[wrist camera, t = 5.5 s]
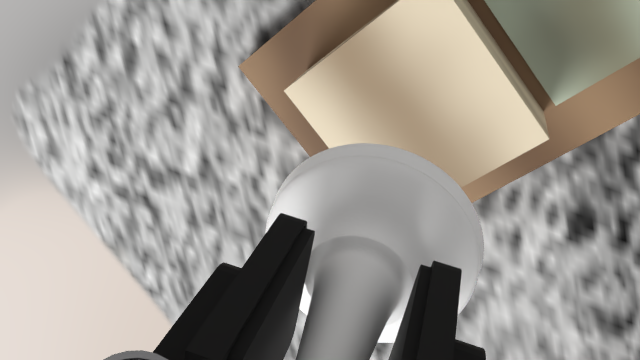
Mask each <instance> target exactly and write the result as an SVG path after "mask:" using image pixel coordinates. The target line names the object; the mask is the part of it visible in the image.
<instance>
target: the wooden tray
mask: <svg viewBox="0 0 640 360" xmlns="http://www.w3.org/2000/svg"><path fill="white" fill-rule="evenodd" d="M238 67H239V68H240V69H241V70H242V72H243V73H244V74H245V75H246V77H247V78H248V79H249V81H250V82H251V83H252V84H253V86H254V87H255V88H256V89H257V91H258V92H259V93H260V94H261V96H262V97H263V98H264V99H265V101H266V102H267V103H268V104H269V106H270V107H271V108H272V109H273V111H274V112H275V113H276V114H277V116H278V117H279V118H280V119H281V121H282V122H283V123H284V124H285V126H286V127H287V128H288V129H289V131H290V132H291V133H292V134H293V136H294V137H295V138H296V139H297V141H298V142H299V143H300V145H301V146H302V147H303V148H304V150H305V151H306V152H307V153H308V155H309V156H310V157H312V156H313V155H315V154H317V153H319V152H322V151H324V150H327V149H330V148H333V147H337V146H342V145H347V144H357V143H371V144H381V145H388V146H392V147H396V148H400V149H403V150H406V151H409V152H411V153H414V154H416V155H418V156H420V157H423V158H424V159H426V160H428V161H430V162H431V163H433V164H434V165H436V166H437V167H439V168H440V169H442V170H443V171H444V172H445V173H447V174H448V175H449V176H450V177H451V178H452V179H453V180H454V181H455V182H456V183H457V184H458V185H459V186H460V187H461V189H462V190H463V191H464V192H465V194H466V195H467V197H468V198H469V200H470V201H471V203H473V202H474V201H476V200H478V199H480V198H482V197H484V196H486V195H488V194H490V193H491V192H493V191H495V190H497V189H499V188H501V187H503V186H505V185H507V184H508V183H510V182H512V181H514V180H516V179H518V178H520V177H522V176H524V175H525V174H527V173H529V172H531V171H533V170H535V169H537V168H539V167H541V166H542V165H544V164H546V163H548V162H550V161H552V160H554V159H556V158H558V157H559V156H561V155H563V154H565V153H567V152H569V151H571V150H573V149H575V148H576V147H578V146H580V145H582V144H584V143H586V142H588V141H590V140H592V139H593V138H595V137H597V136H599V135H601V134H603V133H605V132H607V131H609V130H610V129H612V128H614V127H616V126H618V125H620V124H622V123H624V122H626V121H628V120H629V119H631V118H633V117H635V116H637V115H639V114H640V0H316V1H314V2H313V3H312V4H311V5H310V6H309V7H307V8H306V9H305V10H304V11H303V12H301V13H300V14H299V15H298V16H297V17H296V18H294V19H293V20H292V21H291V22H290V23H289V24H287V25H286V26H285V27H284V28H283V29H282V30H280V31H279V32H278V33H277V34H276V35H275V36H273V37H272V38H271V39H270V40H269V41H268V42H266V43H265V44H264V45H263V46H262V47H260V48H259V49H258V50H257V51H256V52H255V53H253V54H252V55H251V56H250V57H249V58H248V59H246V60H245V61H244V62H243V63H242V64H241V65H239V66H238Z"/></svg>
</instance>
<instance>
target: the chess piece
mask: <svg viewBox="0 0 640 360" xmlns="http://www.w3.org/2000/svg"><path fill="white" fill-rule="evenodd" d="M280 213H283V214H286V215H290V216H293V217H296V218H299V219H302V220H306V221H307V229H310V230H313V231H315V236H314V241H313V246H312V250H311V255H310V260H309V265H308V269H307V274H306V279H305V284H304V288H303V293H302V298H301V303H300V307H299V309H300V310H301V311H303V312H304V313H305V314H306V315H307V318H306V322H305V326H304V330H303V334H302V338H301V342H300V345H299V349H298V353H297V357H296V360H369V359H370V357H371V355H372V353H373V351H374V348H375V346H376V344H377V342H381V343H391V342H395V339H396V336H397V333H398V330H399V327H400V324H401V321H402V318H403V315H404V312H405V309H406V306H407V303H408V300H409V297H410V294H411V291H412V288H413V285H414V282H415V279H416V276H417V273H418V270H419V267H420V265H421V264H422V265H425V266H428V267H431V265H432V263H433V261H437V262H441V263H444V264H447V265H450V266H453V267H457V268H460V269H461V270H462V274H461V284H460V295H459V305H458V314H459V313H460V312H461V311H462V310H463V308H464V307H465V306H466V304H467V303H468V301H469V299H470V298H471V296H472V294H473V292H474V289H475V286H476V283H477V280H478V276H479V273H480V271H481V267H482V263H483V256H484V239H483V232H482V228H481V224H480V221H479V218H478V215H477V213H476V211H475V209H474V207H473V205H472V203H471V201H470V200H469V198H468V197H467V195H466V194H465V192H464V191H463V190H462V189H461V187H460V186H459V185H458V184H457V183H456V182H455V181H454V180H453V179H452V178H451V177H450V176H449V175H448V174H447V173H445V172H444V171H443V170H442V169H440V168H439V167H437V166H436V165H434V164H433V163H431V162H430V161H428V160H426V159H424V158H423V157H420V156H418V155H416V154H414V153H411V152H409V151H406V150H403V149H400V148H396V147H392V146H388V145H381V144H371V143H357V144H347V145H342V146H337V147H333V148H330V149H327V150H324V151H322V152H319V153H317V154H315V155H313V156H312V157H310V158H308V159H307V160H305V161H304V162H302V163H301V164H300V165H299V166H297V167H296V168H295V169H294V170H293V171H292V172H291V173H290V174H289V176H288V177H287V178H286V179H285V181H284V182H283V184H282V185H281V187H280V189H279V191H278V193H277V195H276V198H275V200H274V204H273V205H272V208H271V210H270V213H269V216H268V221H267V225H266V233H267V231H268V230H269V228H270V227H271V225H272V224H273V222H274V221H275V220H276V218H277V217H278V215H279V214H280Z"/></svg>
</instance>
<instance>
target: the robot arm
mask: <svg viewBox="0 0 640 360" xmlns="http://www.w3.org/2000/svg"><path fill="white" fill-rule="evenodd" d="M314 236H315V231H313V230H310V229H307V221H306V220H302V219H299V218H296V217H293V216H290V215H286V214H283V213H280V214H279V215H278V217H277V218H276V220H275V221H274V222H273V224H272V225H271V227H270V228H269V230H268V231H267V233H266V234H265V235H264V237H263V238H262V240H261V241H260V243H259V244H258V246H257V247H256V248H255V250H254V251H253V253H252V254H251V256H250V257H249V259H248V260H247V261H246V263H245V264H244V266H243V267H242V268H239V267H236V266H233V265H230V264H227V263H222V264H220V265H219V266H218V267H217V268H216V270H215V271H214V272H213V274H212V275H211V276H210V278H209V279H208V280H207V282H206V283H205V284H204V286H203V287H202V288H201V289H200V291H199V292H198V293H197V295H196V296H195V297H194V299H193V300H192V301H191V303H190V304H189V305H188V307H187V308H186V309H185V311H184V312H183V313H182V315H181V316H180V317H179V318H178V320H177V321H176V322H175V324H174V325H173V326H172V328H171V329H170V330H169V332H168V333H167V334H166V336H165V337H164V339H163V340H162V341H161V342H160V344H159V345H158V346H157V347H156V349H155V350H154V351H153V353H152V352H147V351H126V352H122V353H118V354H114V355H112V356H110V357H108V358H106V359H104V360H283V359H284V357H285V354H286V352H287V350H288V348H289V346H290V343H291V340H292V337H293V334H294V331H295V326H296V322H297V317H298V312H299V307H300V303H301V298H302V293H303V288H304V284H305V279H306V274H307V269H308V265H309V260H310V255H311V250H312V246H313V241H314ZM461 274H462V270H461V269H460V268H457V267H453V266H450V265H447V264H444V263H441V262H437V261H433V263H432V265H431V267H428V266H425V265H422V264H421V265H420V267H419V270H418V273H417V276H416V279H415V282H414V285H413V288H412V291H411V294H410V297H409V300H408V303H407V306H406V309H405V312H404V315H403V318H402V321H401V324H400V327H399V330H398V333H397V336H396V339H395V342H394V345H393V348H392V351H391V354H390V357H389V360H486V355H485V350H484V349H483V348H480V347H477V346H474V345H471V344H468V343H465V342H462V341H459V340H456V339H455V335H456V325H457V315H458V305H459V295H460V284H461Z"/></svg>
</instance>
